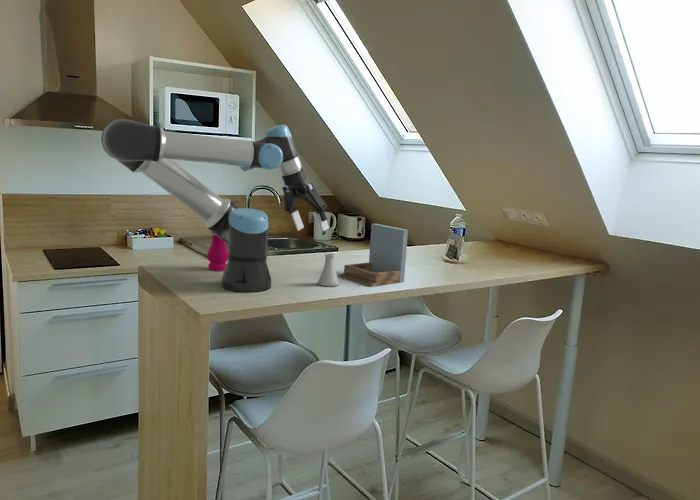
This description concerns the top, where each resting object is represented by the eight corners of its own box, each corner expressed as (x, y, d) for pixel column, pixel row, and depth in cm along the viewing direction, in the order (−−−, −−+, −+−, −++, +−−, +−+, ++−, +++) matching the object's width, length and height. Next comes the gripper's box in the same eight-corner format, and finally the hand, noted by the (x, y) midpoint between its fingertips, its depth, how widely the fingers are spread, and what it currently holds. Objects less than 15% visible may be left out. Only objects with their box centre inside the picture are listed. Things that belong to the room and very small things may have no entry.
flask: (322, 280, 193) (324, 251, 192) (342, 283, 191) (344, 253, 189) (313, 285, 187) (314, 254, 185) (333, 288, 184) (335, 257, 182)
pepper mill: (202, 268, 201) (204, 210, 197) (220, 266, 206) (222, 210, 203) (214, 272, 196) (215, 213, 193) (232, 270, 201) (234, 212, 198)
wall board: (399, 282, 197) (403, 230, 194) (368, 273, 209) (371, 223, 206) (403, 282, 199) (408, 229, 196) (372, 272, 211) (375, 223, 208)
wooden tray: (371, 286, 189) (372, 274, 188) (340, 276, 201) (341, 265, 200) (399, 282, 197) (400, 271, 197) (368, 273, 209) (368, 262, 209)
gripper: (324, 164, 186) (344, 224, 193) (278, 169, 204) (298, 224, 211) (307, 173, 182) (329, 234, 189) (262, 177, 200) (283, 233, 207)
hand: (312, 229), depth 200 cm, fingers open, 13 cm apart
